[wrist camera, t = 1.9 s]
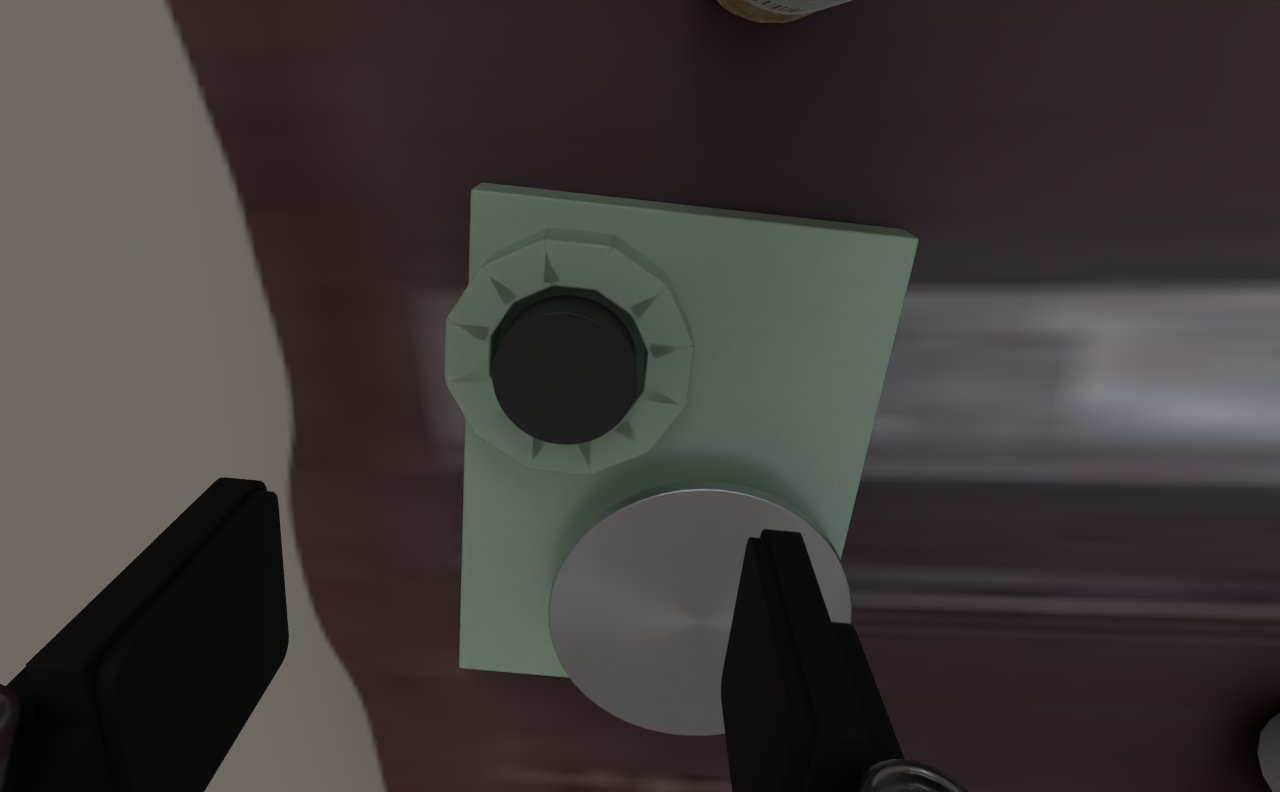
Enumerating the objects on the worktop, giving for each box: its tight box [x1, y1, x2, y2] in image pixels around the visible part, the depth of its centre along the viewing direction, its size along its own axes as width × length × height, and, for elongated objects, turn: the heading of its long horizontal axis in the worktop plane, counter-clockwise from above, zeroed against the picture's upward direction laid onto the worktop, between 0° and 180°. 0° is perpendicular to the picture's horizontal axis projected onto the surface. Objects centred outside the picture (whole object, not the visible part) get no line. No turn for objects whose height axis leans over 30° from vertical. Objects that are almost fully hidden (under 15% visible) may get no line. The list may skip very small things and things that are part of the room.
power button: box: [492, 295, 636, 445], centre depth 20 cm, size 4×4×2 cm
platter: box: [548, 481, 852, 736], centre depth 24 cm, size 9×9×1 cm
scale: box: [445, 183, 918, 678], centre depth 24 cm, size 16×12×3 cm
